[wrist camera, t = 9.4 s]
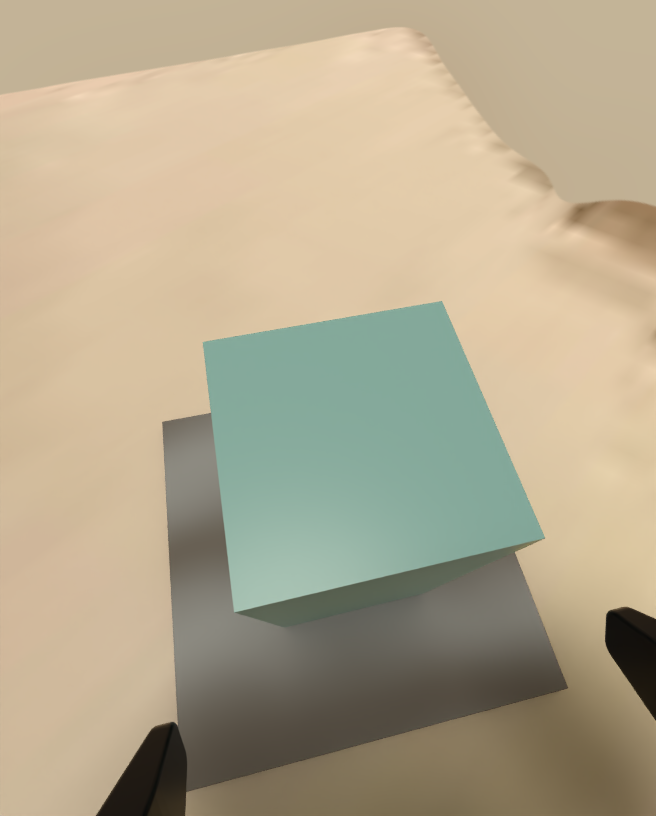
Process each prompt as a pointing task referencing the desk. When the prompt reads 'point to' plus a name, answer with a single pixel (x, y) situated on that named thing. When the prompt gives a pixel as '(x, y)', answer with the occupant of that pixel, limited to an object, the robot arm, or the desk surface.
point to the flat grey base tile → (328, 646)
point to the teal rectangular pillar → (357, 464)
